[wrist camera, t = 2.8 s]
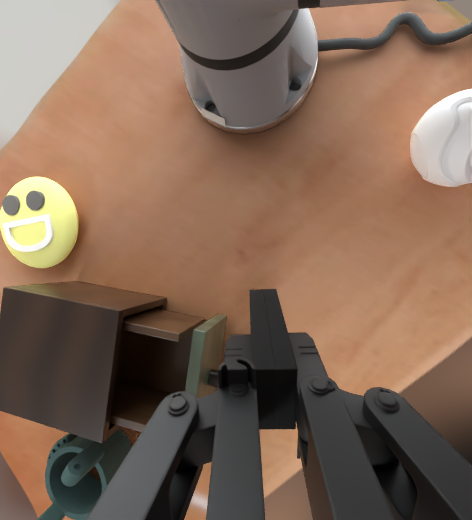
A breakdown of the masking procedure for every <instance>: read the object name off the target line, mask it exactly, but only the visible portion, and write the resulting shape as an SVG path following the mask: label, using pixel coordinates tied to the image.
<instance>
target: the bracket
mask: <svg viewBox="0 0 472 520" xmlns="http://www.w3.org/2000/svg"><path fill="white" fill-rule="evenodd" d="M131 448H132V446H131V444H130V441H129V439H128V438H127V436H126V435H125V434H124V433H123V432H122V431H121V430H120V429H119V428H118V429H117V430H116V431H115V432H114V433H113V434H112V435H111V436H110V437H109V438H107V440H106V441H104V442H103V443H99V442H96V441H93V440H90V439H86V438H83V437H80V436H77V435H74V434H71V433H68V434H67V435H66V436H64V437H63V438H62V439H60V440H59V441H58V442H57V443H56V444H55V445H54V446H53V448H52V449H51V451H50V454H49V457H48V460H47V467H46V472H45V483H46V488H47V492H48V495H49V497H50V499H51V501H52V502H53V504H52V505H51V506H50V507H49V508H48V509H47V510H46V511H45V512H44V513H43V514H42V515H41V516H40V517H39V518H38V519H37V520H62V519H63V518H64V516H67V517H69V518H71V519H74V520H86V518H87V517H88V515H89V514H90V512H91V510H92V509H93V507H94V506H95V504H96V503H97V501H98V500H99V498H100V496H101V495H102V493H103V492H104V490H105V489H106V487H107V485H108V484H109V482H110V481H111V479H112V478H113V476H114V475H115V473H116V471H117V470H118V468H119V467H120V465H121V464H122V462H123V460H124V459H125V457H126V456H127V454H128V453H129V451H130V450H131ZM94 466H95V467H96V469H97V471H98V473H99V475H100V478H101V481H99V480H98V479H96V478H94V477H93V476H92V475H91V474H90V473H89V471H90V470H91V469H92V468H93V467H94Z"/></svg>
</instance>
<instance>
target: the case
mask: <svg viewBox="0 0 472 520" xmlns="http://www.w3.org/2000/svg"><path fill="white" fill-rule="evenodd" d="M166 300H167V298H165V297H160V296H154V295H149V294H143V293H138V292H133V291H127V290H122V289H116V288H111V287H105V286H100V285H95V284H89V283H84V282H78V281H72V282H59V283H47V284H35V285H24V286H12V287H4V288H3V296H2V304H1V312H0V411H3V412H6V413H9V414H12V415H15V416H19V417H22V418H25V419H28V420H31V421H34V422H37V423H40V424H43V425H46V426H49V427H53V428H56V429H59V430H62V431H65V432H68V433H71V434H74V435H77V436H80V437H83V438H86V439H90V440H93V441H96V442H99V443H103V442H104V441H106V440H107V438H109V437H110V436H111V435H112V434H113V433H114V432H115V431H116V430H117V429H118V428H120V427H121V426H119V425H116V424H112V423H110V416H111V409H112V401H113V393H114V386H115V378H116V370H117V363H118V355H119V348H120V340H121V332H122V325H123V317H126V316H129V315H132V314H135V313H139V312H142V311H145V310H148V309H151V308H155V309H160V310H165V308H166Z"/></svg>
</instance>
